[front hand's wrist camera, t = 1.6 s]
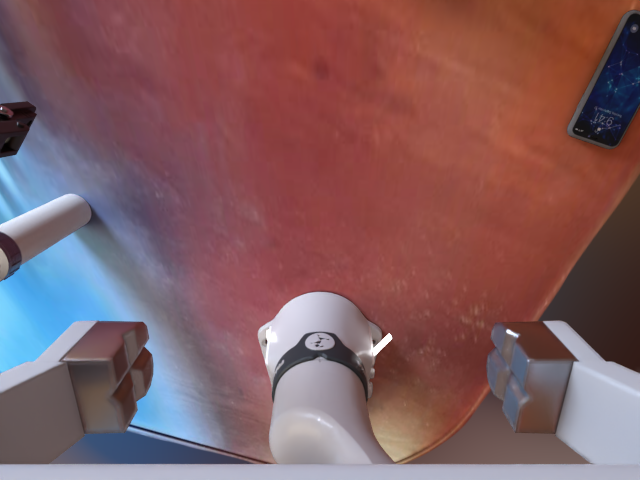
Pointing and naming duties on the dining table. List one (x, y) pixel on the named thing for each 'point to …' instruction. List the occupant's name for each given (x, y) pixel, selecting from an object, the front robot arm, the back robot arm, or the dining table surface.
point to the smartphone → (612, 89)
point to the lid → (8, 256)
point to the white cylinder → (47, 224)
